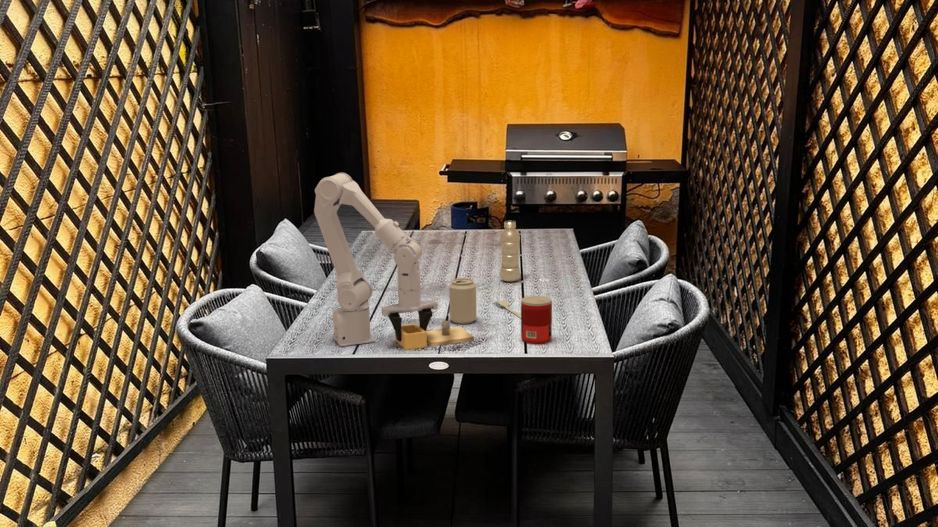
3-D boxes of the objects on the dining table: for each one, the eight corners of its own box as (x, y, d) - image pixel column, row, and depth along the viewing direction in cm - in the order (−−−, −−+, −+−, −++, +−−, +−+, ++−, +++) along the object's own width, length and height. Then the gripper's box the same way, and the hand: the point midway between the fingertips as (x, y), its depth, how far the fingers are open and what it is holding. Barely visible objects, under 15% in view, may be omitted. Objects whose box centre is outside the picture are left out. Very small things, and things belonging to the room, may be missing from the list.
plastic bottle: (498, 279, 294) (498, 220, 290) (518, 278, 295) (518, 219, 290) (501, 284, 288) (500, 223, 284) (521, 283, 289) (521, 223, 284)
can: (461, 315, 254) (460, 275, 251) (481, 320, 249) (481, 279, 246) (444, 321, 248) (443, 280, 245) (464, 326, 244) (464, 284, 241)
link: (405, 350, 225) (405, 335, 224) (395, 340, 232) (394, 326, 231) (426, 346, 227) (426, 332, 226) (416, 337, 234) (415, 323, 233)
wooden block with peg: (431, 346, 227) (430, 330, 226) (418, 335, 236) (418, 319, 235) (474, 340, 231) (473, 324, 230) (459, 330, 240) (459, 314, 239)
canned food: (556, 342, 229) (556, 301, 226) (527, 345, 226) (527, 304, 224) (545, 334, 236) (545, 294, 233) (517, 337, 234) (517, 297, 231)
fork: (523, 329, 249) (523, 320, 248) (489, 304, 266) (490, 295, 265) (531, 328, 250) (532, 319, 249) (497, 303, 267) (498, 294, 266)
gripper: (386, 295, 220) (388, 346, 223) (441, 288, 225) (442, 339, 228) (378, 288, 226) (380, 338, 229) (431, 282, 232) (432, 331, 235)
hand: (410, 338), depth 229 cm, fingers closed on link, 6 cm apart
